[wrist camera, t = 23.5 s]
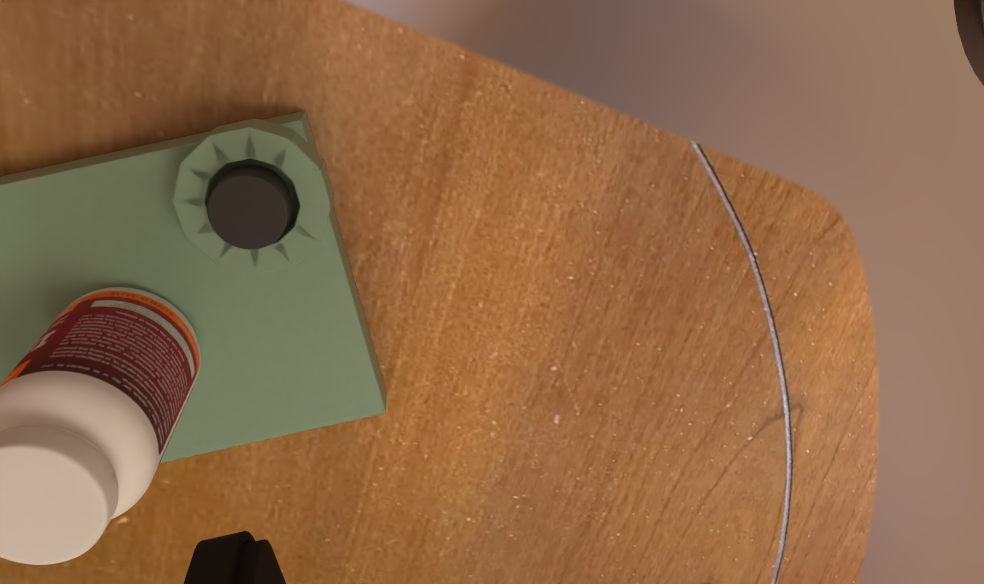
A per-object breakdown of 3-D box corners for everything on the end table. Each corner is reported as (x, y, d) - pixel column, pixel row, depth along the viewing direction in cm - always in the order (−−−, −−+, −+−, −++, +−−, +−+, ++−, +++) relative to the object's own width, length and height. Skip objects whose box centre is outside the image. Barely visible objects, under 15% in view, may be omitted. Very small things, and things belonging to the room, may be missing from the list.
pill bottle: (60, 268, 35) (-75, 406, 25) (212, 298, 37) (142, 441, 27) (50, 396, 38) (-78, 570, 28) (194, 420, 39) (122, 594, 29)
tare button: (279, 156, 33) (274, 167, 32) (301, 227, 35) (297, 240, 33) (204, 173, 33) (195, 184, 32) (228, 243, 34) (221, 257, 33)
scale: (313, 97, 36) (304, 114, 32) (395, 390, 41) (395, 430, 38) (-76, 181, 35) (-124, 207, 32) (62, 464, 41) (34, 510, 38)
